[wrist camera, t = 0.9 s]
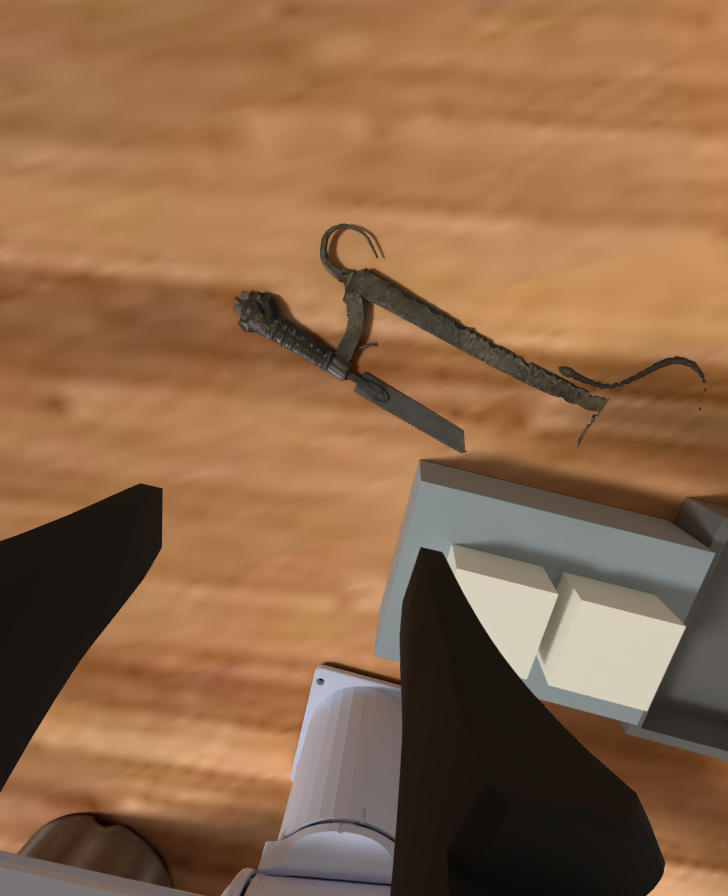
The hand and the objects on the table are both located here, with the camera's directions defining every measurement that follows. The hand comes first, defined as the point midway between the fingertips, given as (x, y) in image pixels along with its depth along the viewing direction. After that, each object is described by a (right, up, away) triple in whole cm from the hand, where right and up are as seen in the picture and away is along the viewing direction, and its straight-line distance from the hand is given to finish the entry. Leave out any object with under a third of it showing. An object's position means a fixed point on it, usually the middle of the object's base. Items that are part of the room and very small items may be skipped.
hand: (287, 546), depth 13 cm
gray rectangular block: (+11, -4, +14) cm, 18 cm away
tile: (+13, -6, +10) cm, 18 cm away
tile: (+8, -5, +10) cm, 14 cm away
